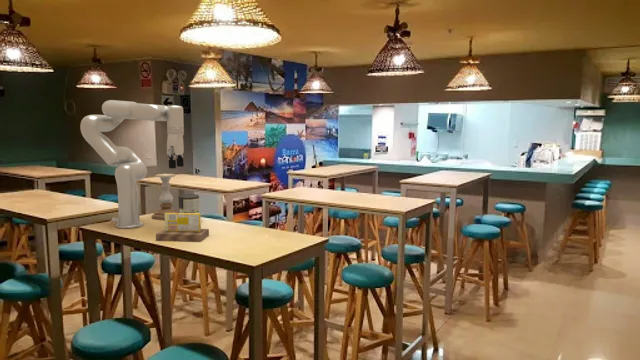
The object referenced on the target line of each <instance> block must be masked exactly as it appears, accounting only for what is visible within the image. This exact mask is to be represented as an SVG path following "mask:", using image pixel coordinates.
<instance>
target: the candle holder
mask: <svg viewBox="0 0 640 360" xmlns="http://www.w3.org/2000/svg"><path fill="white" fill-rule="evenodd" d="M155 177H156V178H159V180H160V181H161V182H162V183H161V185H160V188H161V189H162V192H161V194H160V196H159V198H158V201H159V202H160V203H161V204H160V209H158V211H155V212H153V215H151V218H152V219H153V220H160V221H165V213H179V210H175V209H173V208H172V207H173V204H172V202H173V200H174V197H173V195H172V193H171V192H170V189H171V184H170V180H171V179H172V178H174V177H176V173H157V174H155Z"/></svg>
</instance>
